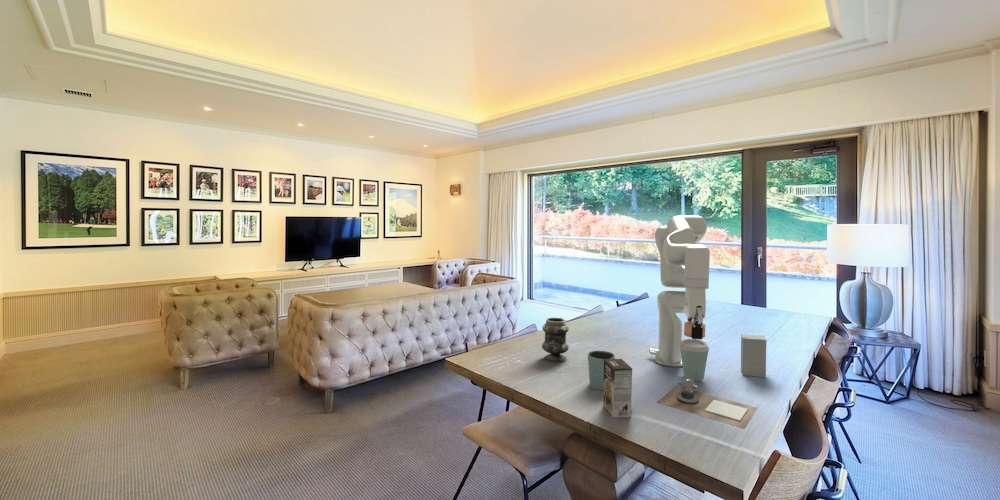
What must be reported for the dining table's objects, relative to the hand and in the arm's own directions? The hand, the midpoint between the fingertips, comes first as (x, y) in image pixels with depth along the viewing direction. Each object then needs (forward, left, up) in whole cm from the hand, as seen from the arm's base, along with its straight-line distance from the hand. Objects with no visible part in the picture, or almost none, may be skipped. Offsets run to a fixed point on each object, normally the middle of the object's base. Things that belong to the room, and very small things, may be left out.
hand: (694, 335), depth 135 cm
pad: (+10, 0, -23) cm, 25 cm away
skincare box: (+9, +44, -24) cm, 51 cm away
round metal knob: (-2, 0, -23) cm, 23 cm away
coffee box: (-17, -22, -24) cm, 36 cm away
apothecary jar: (-61, +6, -24) cm, 65 cm away
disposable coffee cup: (-7, +22, -24) cm, 33 cm away
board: (+4, 0, -24) cm, 24 cm away
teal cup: (-31, -7, -24) cm, 40 cm away
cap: (0, 0, 0) cm, 0 cm away
